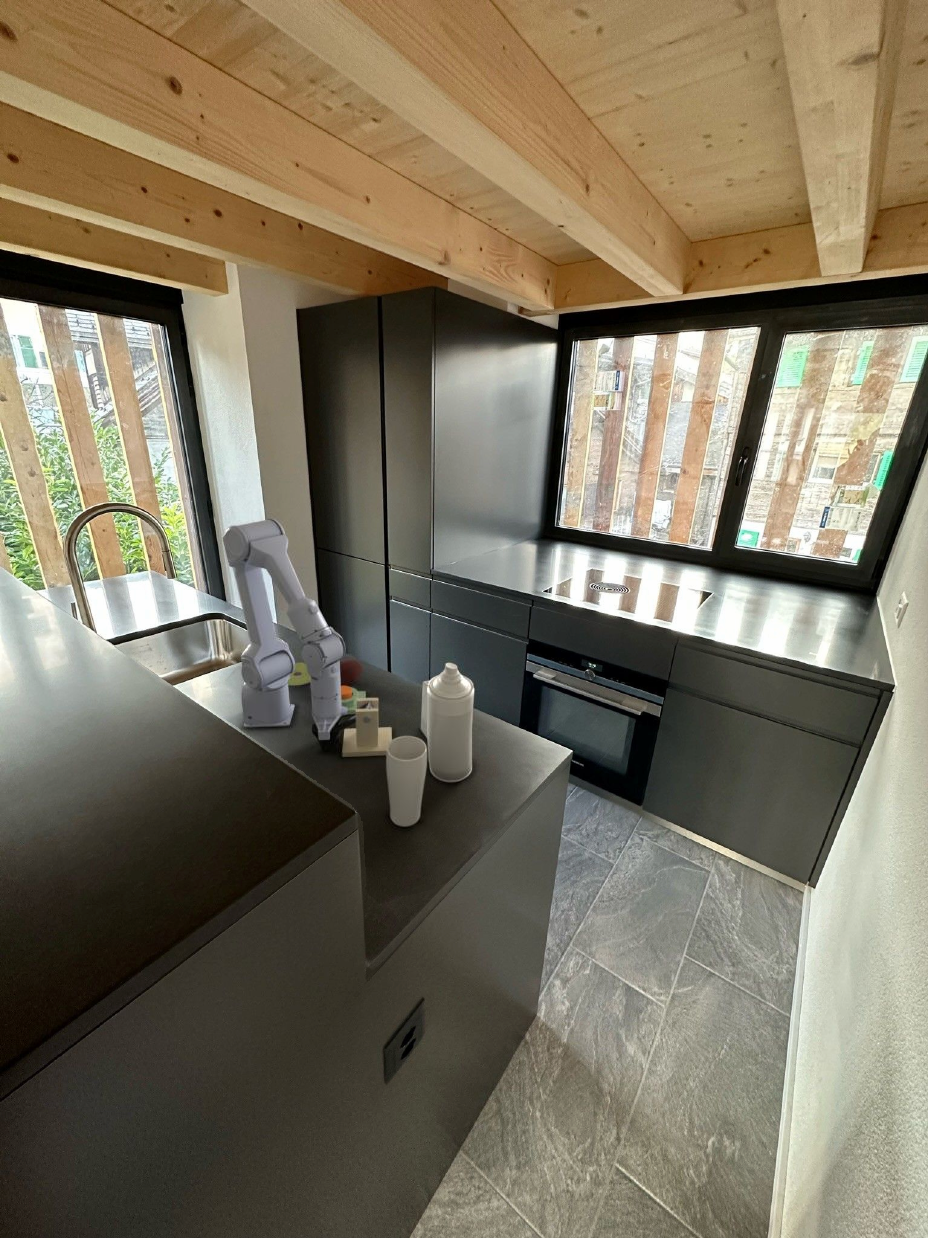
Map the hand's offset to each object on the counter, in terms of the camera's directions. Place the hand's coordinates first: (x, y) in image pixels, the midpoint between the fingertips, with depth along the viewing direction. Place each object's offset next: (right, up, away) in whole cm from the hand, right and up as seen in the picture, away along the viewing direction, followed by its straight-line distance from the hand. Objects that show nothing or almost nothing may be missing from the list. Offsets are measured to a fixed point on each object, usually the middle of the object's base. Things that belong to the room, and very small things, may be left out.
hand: (329, 747), depth 107 cm
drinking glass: (+18, -8, -17) cm, 26 cm away
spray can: (+25, -4, -5) cm, 26 cm away
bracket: (+8, 0, +1) cm, 8 cm away
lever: (+5, +4, -1) cm, 7 cm away
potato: (-2, +10, +23) cm, 25 cm away
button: (0, +9, +13) cm, 16 cm away
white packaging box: (+23, +1, +6) cm, 24 cm away
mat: (-14, +11, +23) cm, 29 cm away
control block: (0, +7, +14) cm, 15 cm away
